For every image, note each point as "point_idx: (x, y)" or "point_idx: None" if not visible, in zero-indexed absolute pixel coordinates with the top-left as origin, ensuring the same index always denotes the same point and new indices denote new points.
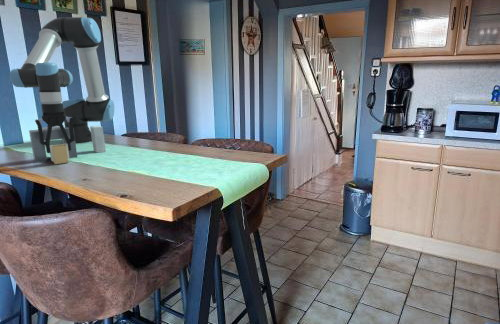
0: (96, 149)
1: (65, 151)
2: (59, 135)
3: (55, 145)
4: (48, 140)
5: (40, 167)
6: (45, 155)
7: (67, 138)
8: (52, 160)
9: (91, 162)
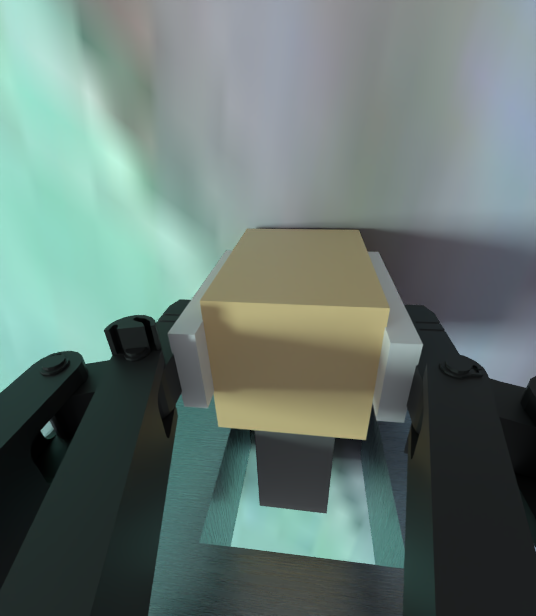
0: (52, 429)
1: (234, 268)
2: (228, 599)
3: (316, 410)
4: (458, 420)
5: (483, 214)
6: (383, 422)
7: (115, 394)
8: (375, 253)
9: (60, 119)
